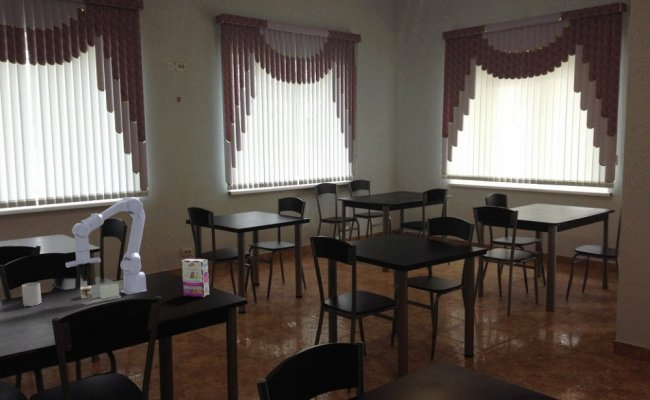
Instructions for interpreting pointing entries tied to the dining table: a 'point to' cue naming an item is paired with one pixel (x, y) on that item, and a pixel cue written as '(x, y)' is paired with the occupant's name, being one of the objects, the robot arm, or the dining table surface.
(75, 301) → the dining table surface
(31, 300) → the cup
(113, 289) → the grey flat block
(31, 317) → the dining table surface
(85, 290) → the letter block
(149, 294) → the dining table surface
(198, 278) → the candy bar box
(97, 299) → the rail
